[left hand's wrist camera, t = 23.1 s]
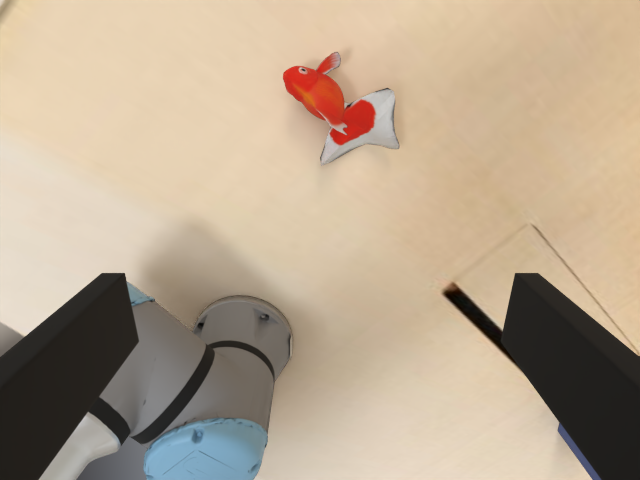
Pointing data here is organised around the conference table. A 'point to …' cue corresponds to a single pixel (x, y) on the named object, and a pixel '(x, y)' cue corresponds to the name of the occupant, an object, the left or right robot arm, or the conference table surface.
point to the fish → (343, 110)
